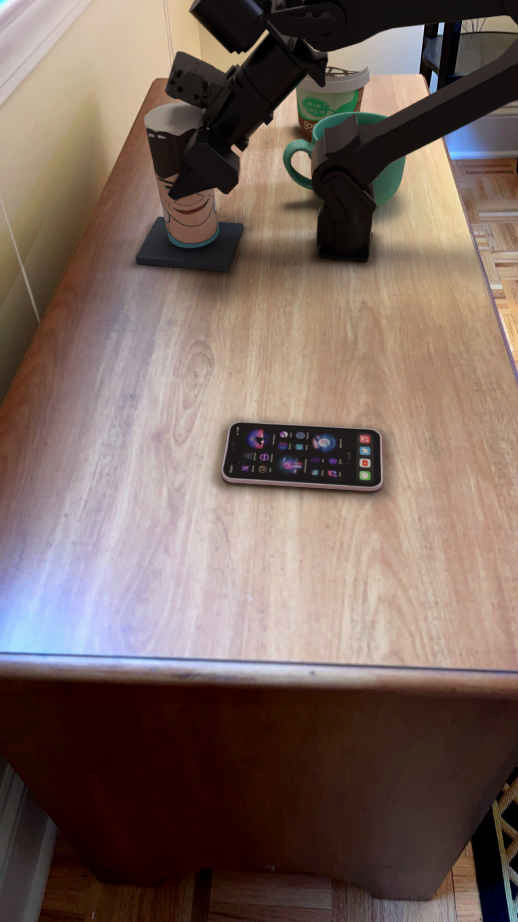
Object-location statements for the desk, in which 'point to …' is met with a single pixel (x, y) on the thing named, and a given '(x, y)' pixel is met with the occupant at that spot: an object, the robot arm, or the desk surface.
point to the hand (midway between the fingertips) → (174, 182)
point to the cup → (167, 137)
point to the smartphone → (303, 456)
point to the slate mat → (190, 249)
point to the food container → (329, 97)
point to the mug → (385, 181)
